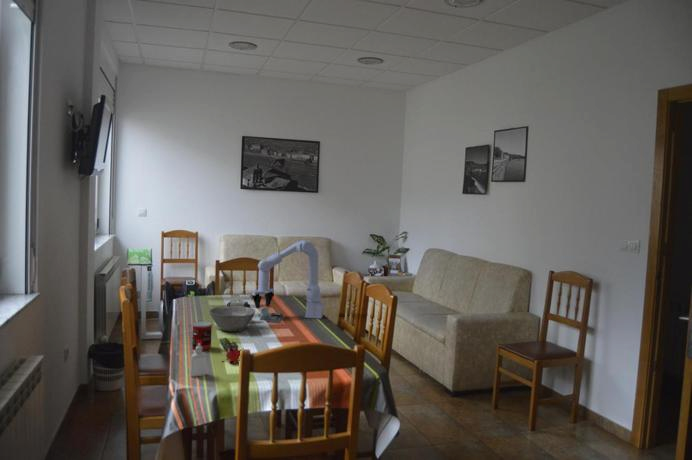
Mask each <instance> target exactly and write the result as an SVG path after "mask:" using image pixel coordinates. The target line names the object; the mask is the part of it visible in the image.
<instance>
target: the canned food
mask: <svg viewBox="0 0 692 460" xmlns="http://www.w3.org/2000/svg"><path fill="white" fill-rule="evenodd" d="M212 329H213V326H212V323H211V322H209V321H197V322H193V323H192V337H191V338H192V341H191V343H192V345H191V346H192V347H191V348H192V349H193V351H196V347H197V346H198V343H200V346H201V347H202V350H206V351H209V350H210V349H211V348H212ZM208 349H209V350H208Z"/></svg>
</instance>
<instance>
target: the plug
mask: <svg viewBox="0 0 692 460" xmlns="http://www.w3.org/2000/svg"><path fill="white" fill-rule="evenodd" d="M259 310H260V313H259V314H260V316H259V320H261V321H267V318H268V317H274V318H277V317H278V316H268V313H269V310H270V309H269V307H267V306H266V305H264V306H263V307H260V308H259Z"/></svg>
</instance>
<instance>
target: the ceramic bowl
mask: <svg viewBox="0 0 692 460" xmlns="http://www.w3.org/2000/svg"><path fill="white" fill-rule="evenodd" d="M208 310H209V311H208V312H209V314H210V316H211V318H212V320H213V322H214V323H215V324H216V326H218V328H219V329H220V330H223V331H225V332H241V331H244V330H245V329H246V328H248V325H249V324H250V322H251V321H252V320H253V318H254V316H255V313H256V310H255V309H254V308H252V307H250V308H248V307H241V306H227V305H224V306H215V307H212V308H210V309H208Z"/></svg>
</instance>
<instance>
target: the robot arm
mask: <svg viewBox="0 0 692 460" xmlns="http://www.w3.org/2000/svg"><path fill="white" fill-rule="evenodd" d="M296 252H298V253H299V252H300V253H301V252H303V253H304V254H306V255H307V256H308V285H306V286H307V287H306V291H305V297H306V298H307V299H306V309H305V316H304V318H307V319H323V316H324V302H323V301H320V300H321V299H322V293H321V290H320V286H319V252H318V250H317V248H316V247H315V244H313V243H312V242H311V241H308V240H305V239H300V240H299V241H296V242H294V243H293V244H291V245H290V246H289V247H286V248H285V249H284V250H283V251H282V250H281V252H273V253H271V255H270V256H269V257H264V259H262V260H260V261H259V262H258V264H257V268H258V283H257V284H258V287H257V290H253V291H252V292H251V293H252V294H251V297H252V299H253V301H254V305H255V308H256V309H260V308H261V300H262V295H264V297H265V306H266V307H267V308H269V307H270V306H271V302H272V300H273V298H274V296H275V289H274V288H270V272H271V268H273V267H275V266H277V265H279V264H280V263H282V262H283V259H285V258H286V257H288V256H290V255H291V254H293V253H296Z"/></svg>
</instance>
